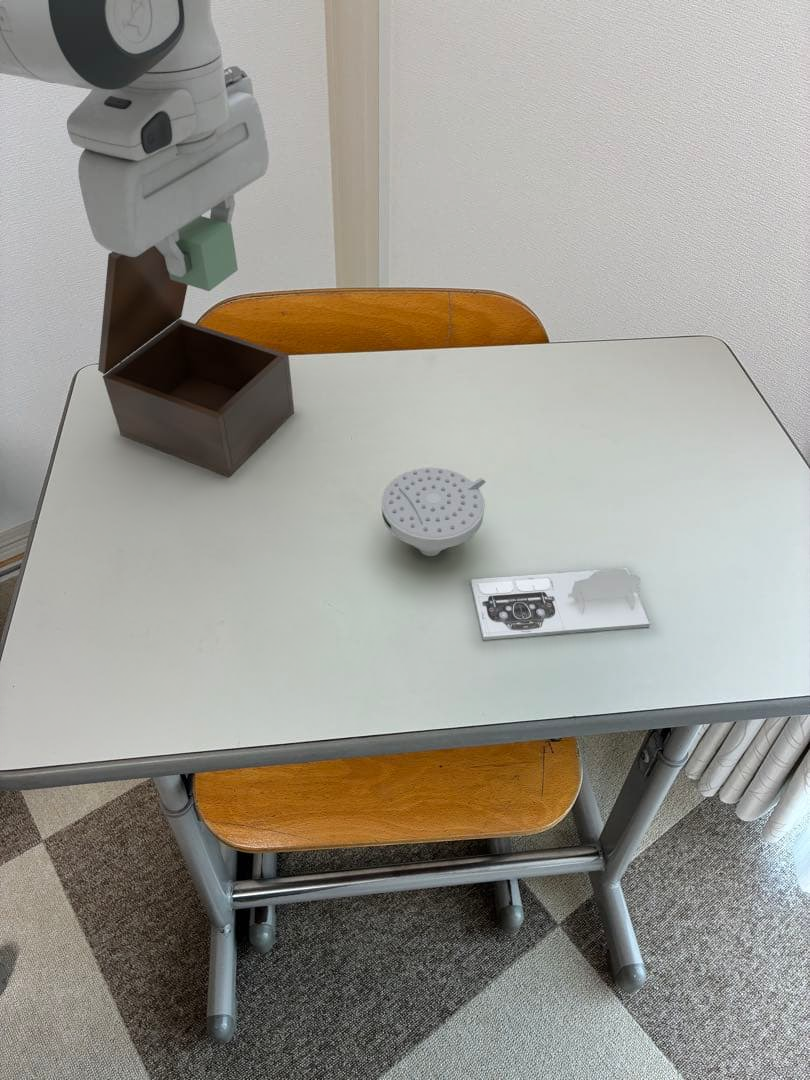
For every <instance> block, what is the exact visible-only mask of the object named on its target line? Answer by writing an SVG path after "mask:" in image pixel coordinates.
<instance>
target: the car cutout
mask: <svg viewBox="0 0 810 1080" xmlns="http://www.w3.org/2000/svg"><path fill="white" fill-rule="evenodd" d="M640 584H641V577H640V576H639V575H636V574H635V575H633V574H632V575H631V574H630V571H629V568H628V567H619V568H618V567H617V568H606V569H605V568H603V569H589V570H578V571H577V570H576V571H565V572H550V573H549V572H548V573H537V574H522V575H510V576H509V575H508V576H495V577H483V578H471V579H470V588H471V592H472V597H473V601H474V606H475V610H476V613H477V619H478V623H479V627H480V632H481V633H480V634H481V638H482V640H483V641H491V640H501V639H502V640H503V639H514V638H515V639H516V638H525V637H538V636H552V635H553V636H554V635H565V634H577V633H578V634H579V633H591V632H603V631H614V630H627V629H639V628H640V629H641V628H649V627H650V625H651V623H650V621H649V619H648V616H647V614H646V611H645V608H644V606H643V604H642V601H641V598H640V595H639V593H640V590H641V588H639V586H640Z"/></svg>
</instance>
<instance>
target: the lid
mask: <svg viewBox="0 0 810 1080" xmlns="http://www.w3.org/2000/svg"><path fill="white" fill-rule="evenodd" d="M105 278H106V279H105V289H104V298H103V300H104V302H103V312H102V322H101V335H100V344H99V353H98V354H99V356H98V366H97V367H98V368H97V371H98V372H100V373H101V374H102V375H105V374H106V373H108V372H109V371H111V370H112V369H113V368H115V367H116V366H117V365H119V364H120V363H121V362H123V361H124V360H125V359H127V358H128V357H129V356H131V355H132V354H133V353H135V352H136V351H137V350H139V349H140V348H141V347H143V346H144V345H145V344H147V343H148V342H149V341H151V340H152V339H153V338H155V337H156V336H157V335H159V334H160V333H161V332H163V331H164V330H165V329H167V328H168V327H169V326H171V325H172V324H173V323H175V322H176V321H177V320H178V319H181V318H182V316H183V311H184V307H185V306H184V305H185V300H186V296H187V291H188V286H189V285H187V284H184V283H180V282H177V281H174V280H171V279H170V276H169V272H168V270H167V266H166V261H165V257H164V255H162V253H161V252H160V251H159V250H158V249H157V248H156V247H155V246H152V247H151V248H149V249H148V250H146V251H145V252H143V253H142V254H140V255H139V256H137V257H129V256H125V255H122V254H118V253H115V252H112V251H110V253H108V255H107V267H106V277H105Z"/></svg>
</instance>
